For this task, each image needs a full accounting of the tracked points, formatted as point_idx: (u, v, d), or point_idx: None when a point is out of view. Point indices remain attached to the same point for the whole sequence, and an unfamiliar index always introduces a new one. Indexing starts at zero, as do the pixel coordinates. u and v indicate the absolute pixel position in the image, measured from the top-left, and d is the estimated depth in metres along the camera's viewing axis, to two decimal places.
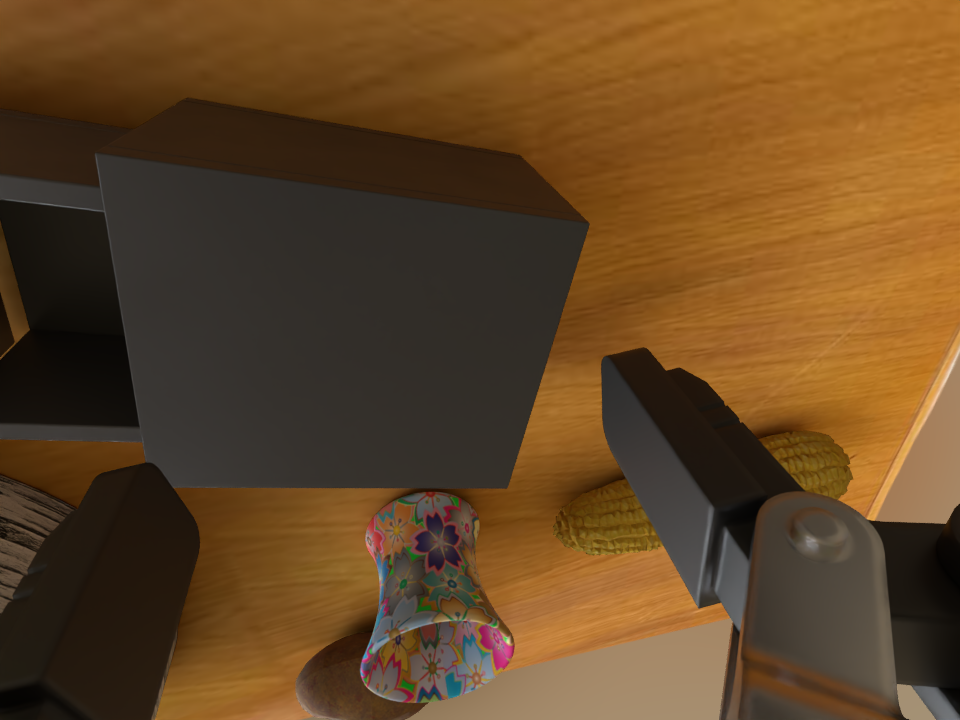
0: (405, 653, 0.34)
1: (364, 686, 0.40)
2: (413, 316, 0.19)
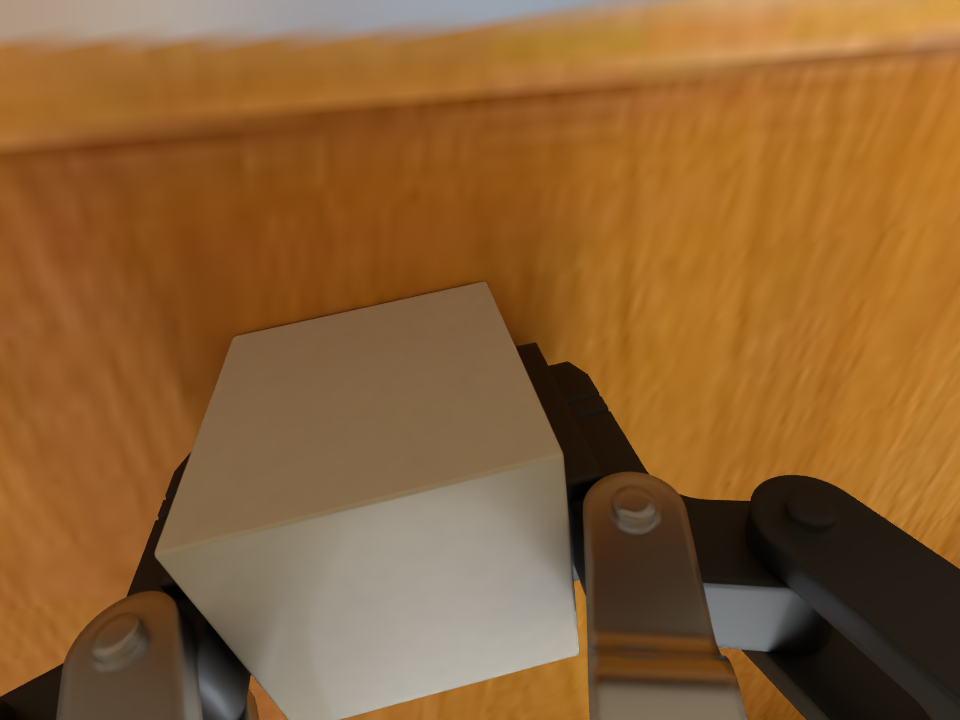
0: None
1: None
2: None
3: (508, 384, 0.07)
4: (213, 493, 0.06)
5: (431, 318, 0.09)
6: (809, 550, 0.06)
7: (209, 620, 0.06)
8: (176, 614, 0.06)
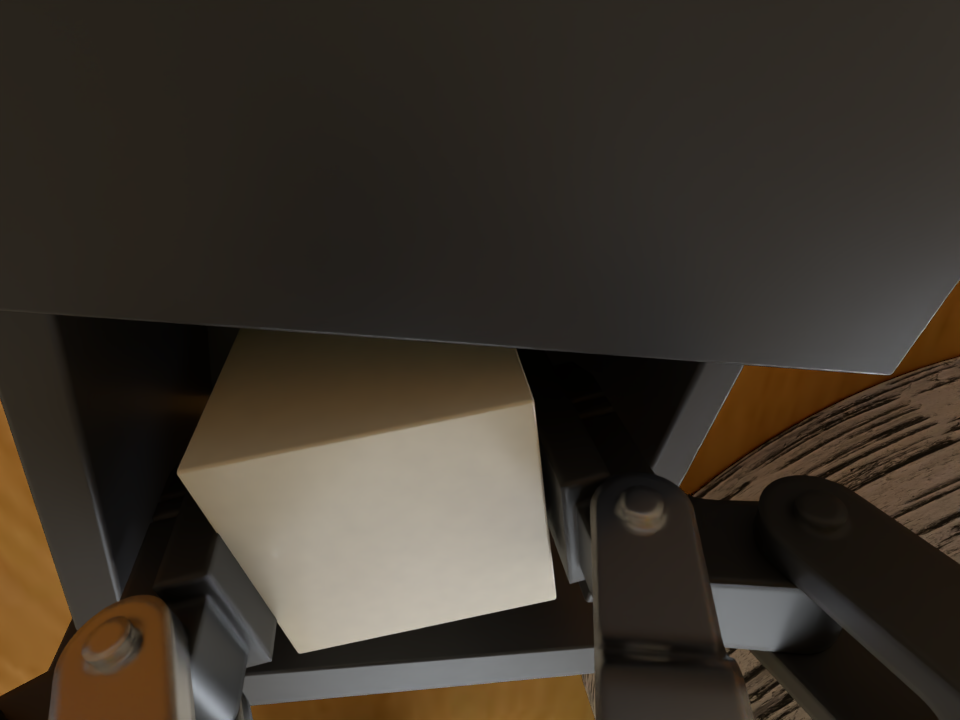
0: None
1: None
2: None
3: None
4: (228, 426, 0.07)
5: None
6: (818, 550, 0.06)
7: (222, 538, 0.07)
8: (169, 618, 0.06)
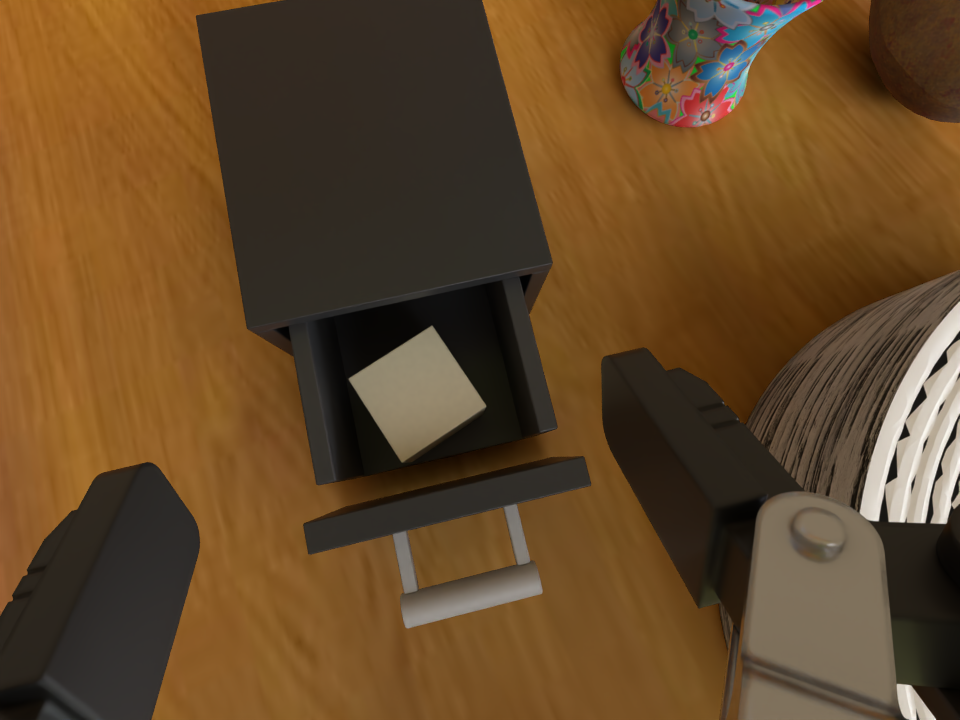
0: None
1: (929, 25, 0.30)
2: (309, 106, 0.23)
3: None
4: None
5: None
6: None
7: (364, 401, 0.24)
8: None
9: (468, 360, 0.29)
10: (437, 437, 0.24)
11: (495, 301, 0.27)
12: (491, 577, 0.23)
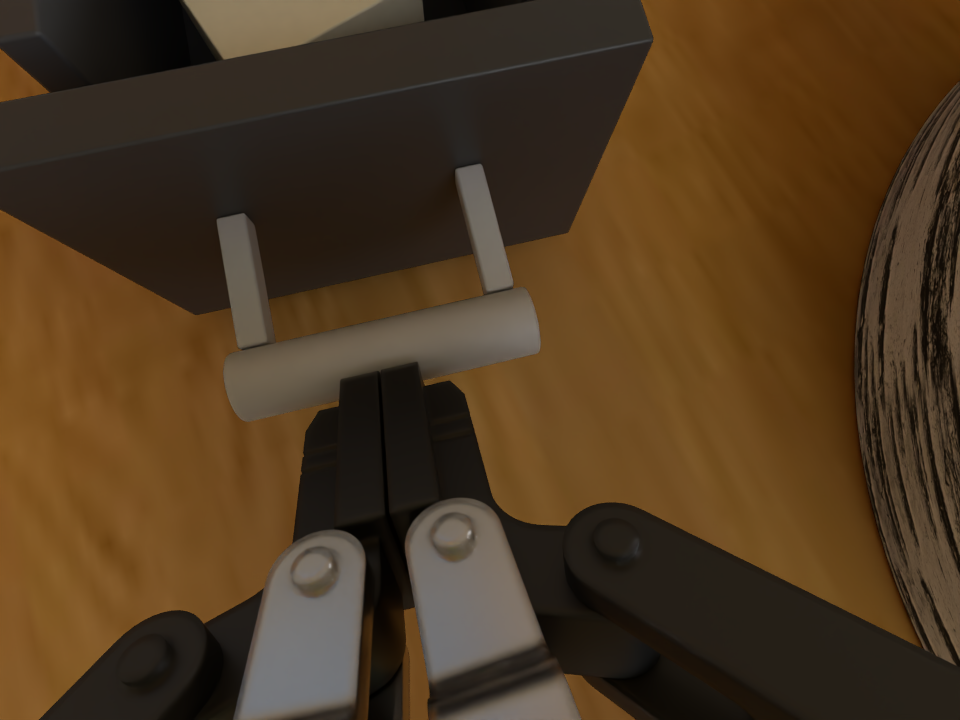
0: None
1: None
2: None
3: None
4: None
5: None
6: (604, 580, 0.06)
7: None
8: (361, 550, 0.07)
9: None
10: (315, 33, 0.11)
11: None
12: (428, 311, 0.11)
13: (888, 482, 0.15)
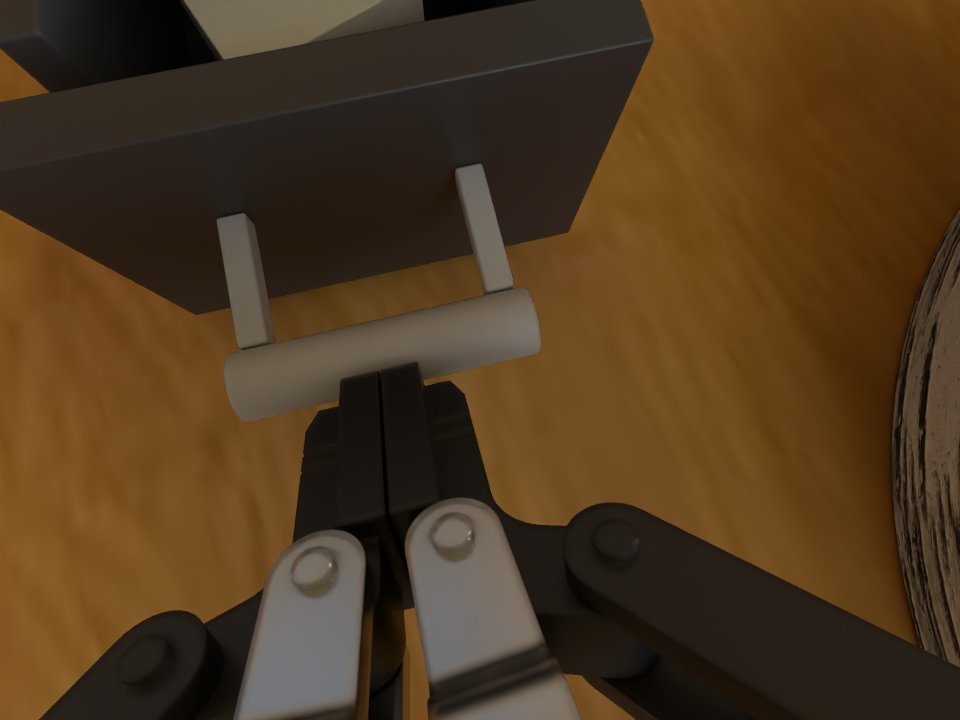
0: None
1: None
2: None
3: None
4: None
5: None
6: (604, 580, 0.06)
7: None
8: (361, 550, 0.07)
9: None
10: (315, 33, 0.11)
11: None
12: (428, 311, 0.11)
13: (930, 597, 0.15)
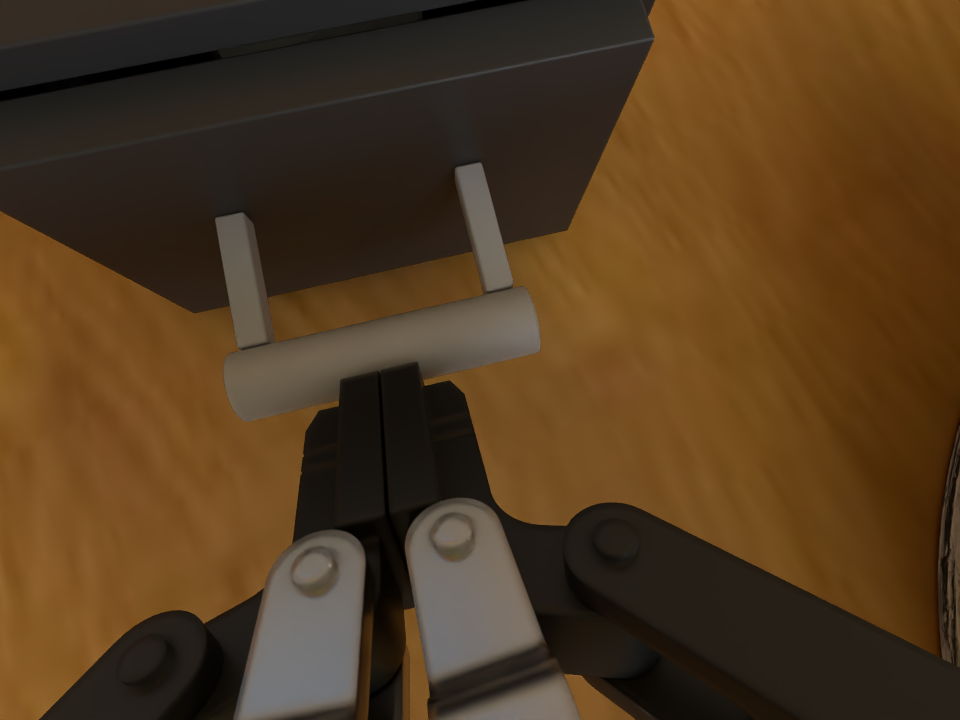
0: None
1: None
2: None
3: None
4: None
5: None
6: (604, 580, 0.06)
7: None
8: (361, 550, 0.07)
9: None
10: None
11: None
12: (428, 310, 0.11)
13: None
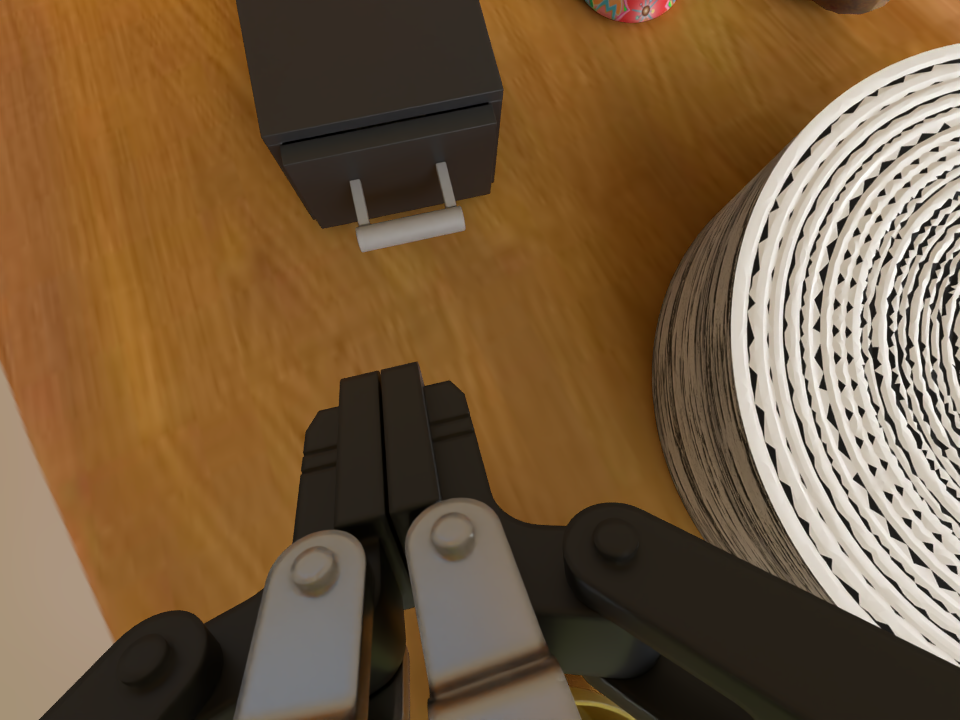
0: None
1: None
2: None
3: None
4: None
5: None
6: (604, 580, 0.06)
7: None
8: (361, 550, 0.07)
9: None
10: None
11: None
12: (425, 213, 0.30)
13: (659, 409, 0.34)
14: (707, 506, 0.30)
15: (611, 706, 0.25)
